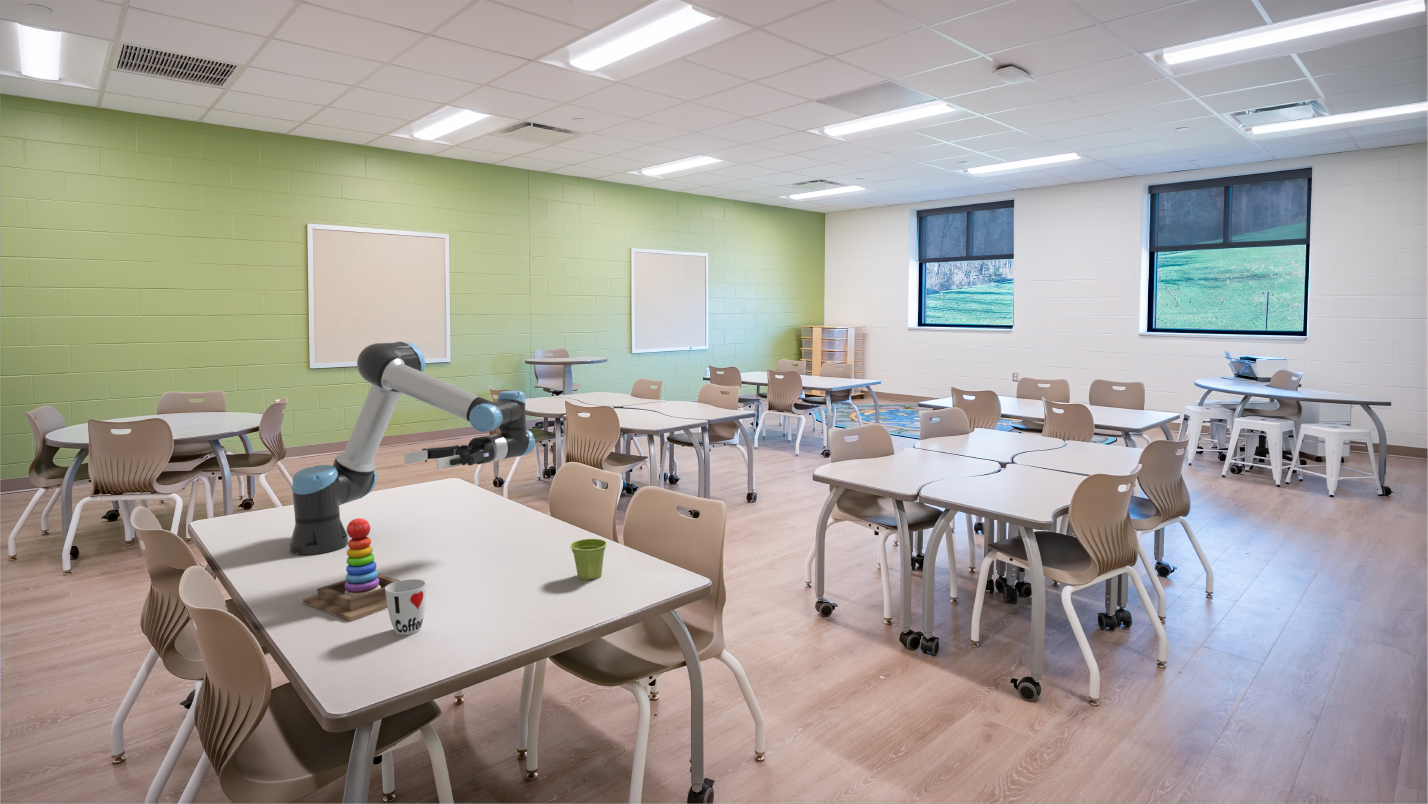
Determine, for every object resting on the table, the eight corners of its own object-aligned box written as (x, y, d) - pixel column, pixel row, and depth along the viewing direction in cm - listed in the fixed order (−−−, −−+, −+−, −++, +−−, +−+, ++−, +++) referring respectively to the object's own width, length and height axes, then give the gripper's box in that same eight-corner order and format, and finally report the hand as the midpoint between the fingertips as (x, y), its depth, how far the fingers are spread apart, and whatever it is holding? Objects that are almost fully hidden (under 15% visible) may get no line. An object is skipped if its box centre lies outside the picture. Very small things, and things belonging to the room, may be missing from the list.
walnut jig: (303, 602, 175) (301, 588, 175) (373, 580, 190) (372, 567, 190) (350, 621, 164) (349, 606, 164) (421, 595, 179) (421, 581, 179)
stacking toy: (388, 591, 180) (384, 516, 178) (363, 603, 172) (358, 524, 170) (362, 587, 182) (358, 513, 180) (336, 599, 175) (331, 522, 173)
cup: (389, 641, 154) (386, 594, 153) (386, 627, 161) (383, 582, 160) (430, 633, 158) (428, 588, 157) (425, 619, 165) (423, 576, 164)
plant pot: (596, 584, 186) (595, 551, 185) (564, 580, 190) (563, 547, 189) (614, 572, 195) (613, 540, 194) (582, 568, 198) (581, 537, 197)
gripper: (517, 466, 203) (452, 481, 186) (459, 458, 217) (393, 470, 199) (516, 439, 202) (451, 451, 185) (457, 432, 216) (391, 443, 198)
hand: (421, 461), depth 192 cm, fingers open, 13 cm apart
